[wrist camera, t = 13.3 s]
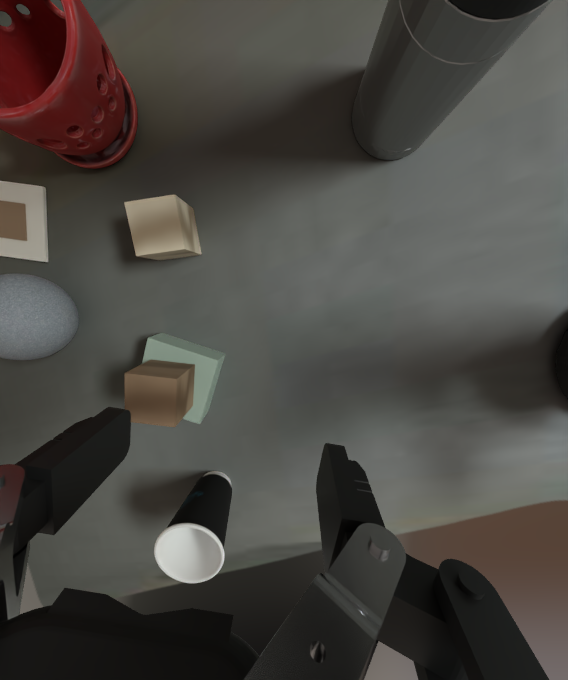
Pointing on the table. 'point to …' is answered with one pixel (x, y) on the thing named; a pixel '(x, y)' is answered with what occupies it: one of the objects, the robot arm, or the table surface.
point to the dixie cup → (197, 532)
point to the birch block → (163, 228)
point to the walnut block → (159, 392)
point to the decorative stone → (34, 317)
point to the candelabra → (563, 364)
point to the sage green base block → (190, 353)
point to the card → (23, 221)
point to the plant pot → (63, 85)
